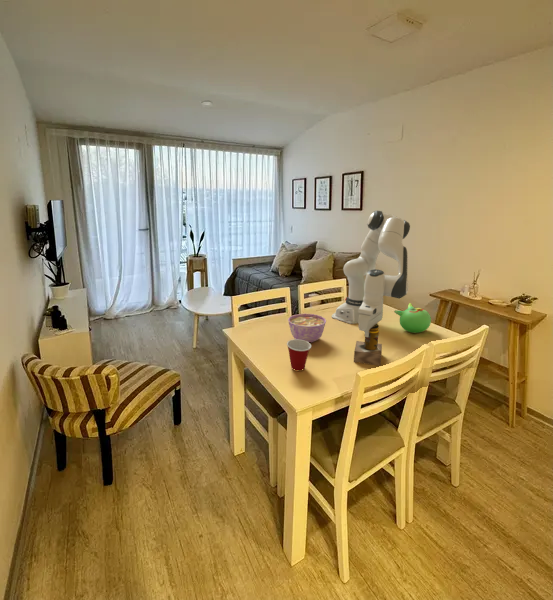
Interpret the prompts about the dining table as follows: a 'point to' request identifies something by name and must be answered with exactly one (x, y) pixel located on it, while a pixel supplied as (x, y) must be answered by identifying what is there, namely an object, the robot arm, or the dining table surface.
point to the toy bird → (414, 319)
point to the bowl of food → (307, 326)
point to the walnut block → (367, 355)
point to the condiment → (371, 340)
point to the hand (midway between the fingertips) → (370, 334)
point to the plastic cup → (298, 353)
